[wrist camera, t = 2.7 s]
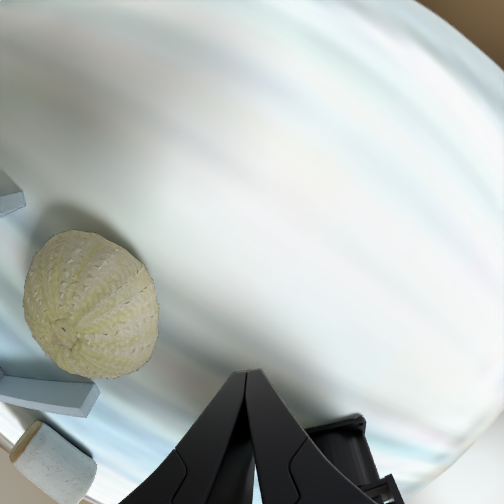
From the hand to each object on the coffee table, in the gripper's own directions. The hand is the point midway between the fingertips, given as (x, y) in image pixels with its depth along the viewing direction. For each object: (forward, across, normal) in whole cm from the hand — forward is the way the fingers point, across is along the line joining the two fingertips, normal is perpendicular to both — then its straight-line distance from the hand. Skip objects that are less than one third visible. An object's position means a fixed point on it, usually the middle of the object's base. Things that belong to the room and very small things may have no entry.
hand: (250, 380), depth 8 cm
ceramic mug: (+9, +25, +17) cm, 32 cm away
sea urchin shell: (+9, +10, 0) cm, 13 cm away
